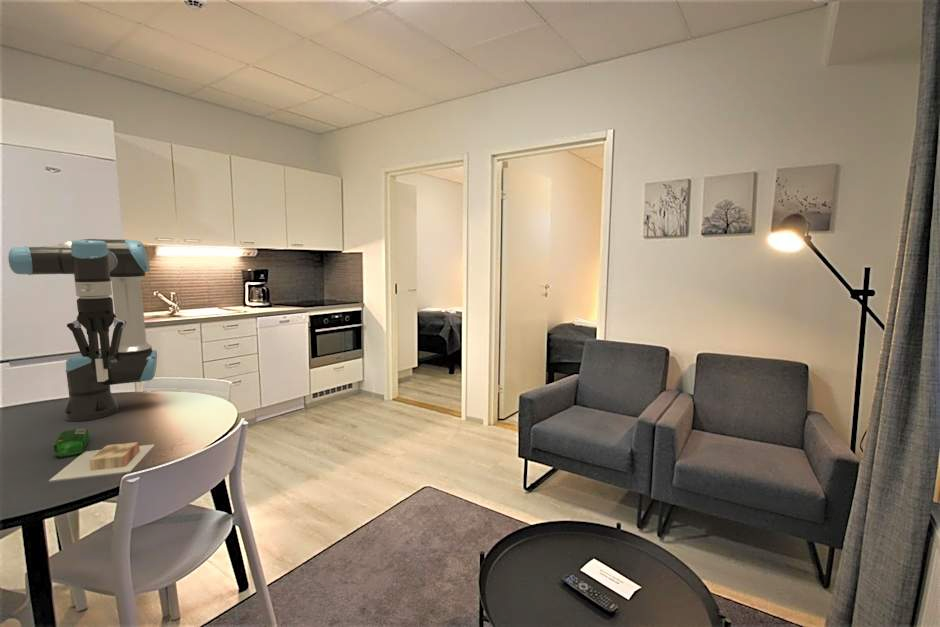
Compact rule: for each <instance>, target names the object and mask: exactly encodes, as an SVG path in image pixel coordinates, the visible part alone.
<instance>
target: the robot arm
mask: <svg viewBox="0 0 940 627" xmlns="http://www.w3.org/2000/svg"><path fill="white" fill-rule="evenodd" d="M7 258H8V259H7V260H8V265H9V267H10V270H11V271H12V272H13V273H14V274H17V275H28V276H32V275H73V277H74V278H73V279H74V288H75V296H77V297H78V298H77V299H76V306H77V313H78V315H77V316H76V319H75V320H74V321H72V322H69V323H67V324H66V327H67V328H68V329H69V331H71V332H72V335H73V337H74V339H75V342H76V345H77V347H78V350H79V351H80V352H79V353H78V354H75V355H72V356H70V357H68V358H67V359H66V361H65V373H66V380H67V381H66V382H67V388H68V401H67V403H66V406H65V409H64V420H65V421H68V422H83V421H85V422H86V421H92V420H96V419H101V418H105V417H109V416H111V415H115V413H117V412H118V411H119V405H118V404H119V403H118V402H117V400H116V399H115V396H114V395H113V393H112V392H111V391H112V390H111V386H113V385H121V384H130V383H141V382H147V381H148V382H149V381H152V380H153V379H154V378H155V376H156V369H157V364H158V351H157V350H155V349H153V346H152V344H150V343H149V342H147V334H146V325H145V311H144V304H143V302H144V301H143V291H142V283H141V282H142V280H143V279H144V278H145V277H146V273H147V272H150V261H149V257H148V253H147V251H146V247H145V244H144V243H143V242H141V241H139V240H133V239H109V238H108V239H106V238H103V239H101V238H100V239H99V238H98V239H96V238H85V239H84V238H83V239H77V240H76V239H75V240H69V241H64V242H61V243H59V244H57V245H48V246H47V245H46V246H14V247H11V248H10V249H9V251H8V256H7ZM112 325H113V327H114V328H113V331H112V336H111V341H110V334H109V333H110V327H112ZM82 326H83V328H84V329H85V332H86V335H87V339H86V336H85V333H84V331H83V329H82ZM98 336H99V337H98Z"/></svg>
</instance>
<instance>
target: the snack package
mask: <svg viewBox="0 0 940 627" xmlns="http://www.w3.org/2000/svg"><path fill="white" fill-rule="evenodd" d="M89 439H90V434H89V429H87V428H77V429H69V430H65V431H62V432H60V433H59V434H58V435H57V437H56V439H55V442H54V444H53V451H54V454H55V456H57V457H60V458H62V457H63V458H64V457H68V456H75V455H79V454H80V455H81V454H82V453H84V452H85V450H86V446H87V444H88V441H89Z"/></svg>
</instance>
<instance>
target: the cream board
mask: <svg viewBox="0 0 940 627" xmlns="http://www.w3.org/2000/svg"><path fill="white" fill-rule="evenodd" d="M155 445H156V444H145V445H139V449H140V452H139V453H138V454H137V455H136V456H135V457H134V458H133V459H132V460H131V461H130V462H129V463H128V464H127V465H126V466H125V467H117V468H108V469H100V470H91V471H90V461H89V460H90V459H91V458H93V457H94V456H95V455H96V454H97V453H98V452H100V451H101V450H102V449H96V450H89V451H88V450H87V451H85V450H84V451H83V452H82V453H80V455H78V456H77V457H76V458H75V459H73V460H72V461H71V462H70V463H69V464H68V465H66V466H64V467H63V469H61V470H60V471H59V472H58V473H57V474H55V475H54V476H52V477H51V478H50V479H49V480H48V482H49V483H52V482H60V481H67V480H68V481H69V480H76V479H84V478H93V477H105V476H110V475H119V474H128V473H132V472H131V471H132V470H133V469H134V468H135V467H137V465H138V464H139V463H140V462H141V461H142V460H143V459H144V458H145V456H147V454H148V453H149V452H150V451H151V450H152V449H153V447H155Z"/></svg>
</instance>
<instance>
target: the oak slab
mask: <svg viewBox="0 0 940 627" xmlns="http://www.w3.org/2000/svg"><path fill="white" fill-rule="evenodd" d="M139 446H140V442H138V441H137V442H126V443H115V444H107V445H105V446H104V447H103V448H102V449H100V450H101V451H100V452H98V453H97V454H96V455H95V456H94V457H93V458H91V459H90V460H89V461H90V471H91V470H100V469H108V468H117V467H125V466H126V465H127V464H128V463H129V462H130V461H131V460H132V459H133V458H134V457H135V456H136V455H137V454H138V453H139V452H140V449H139Z"/></svg>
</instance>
